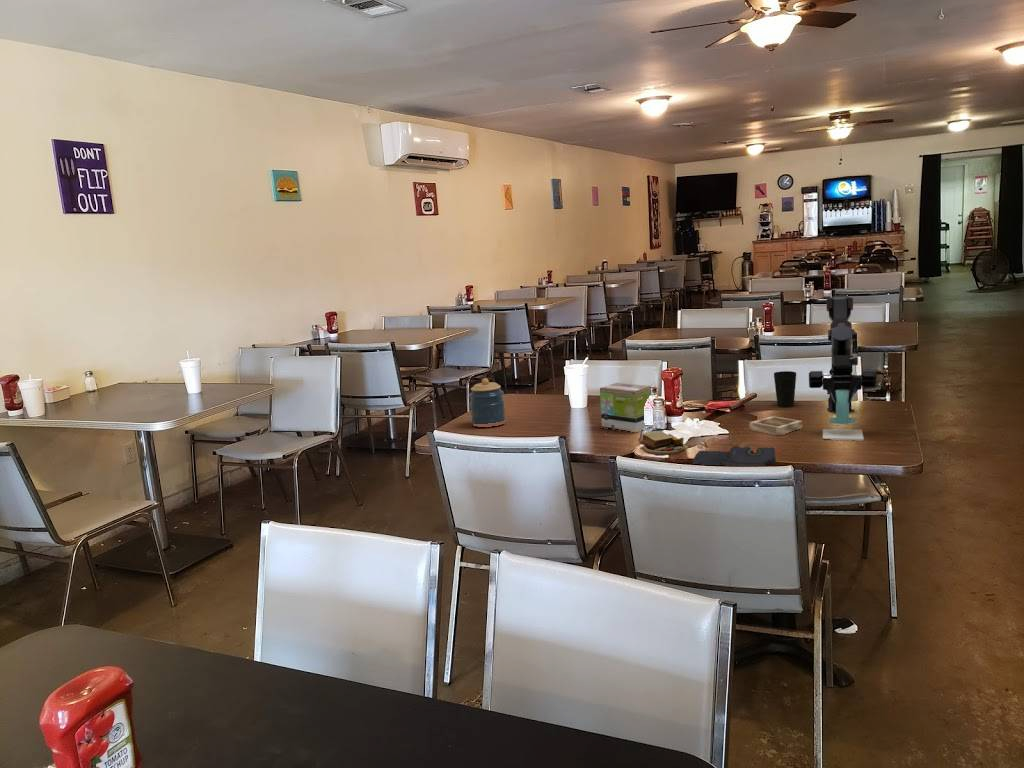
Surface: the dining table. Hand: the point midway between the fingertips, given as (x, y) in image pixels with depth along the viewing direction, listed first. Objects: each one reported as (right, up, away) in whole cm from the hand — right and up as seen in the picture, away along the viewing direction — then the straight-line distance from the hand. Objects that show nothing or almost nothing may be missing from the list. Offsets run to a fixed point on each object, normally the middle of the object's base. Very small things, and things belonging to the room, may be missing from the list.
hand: (842, 402), depth 224 cm
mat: (+1, -10, +3) cm, 11 cm away
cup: (+1, -2, +49) cm, 49 cm away
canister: (-107, -10, +57) cm, 122 cm away
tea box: (-59, -10, +34) cm, 69 cm away
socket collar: (-14, -9, +17) cm, 23 cm away
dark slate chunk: (-37, -17, -16) cm, 44 cm away
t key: (+1, -6, +2) cm, 7 cm away
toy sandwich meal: (-53, -15, +5) cm, 55 cm away
